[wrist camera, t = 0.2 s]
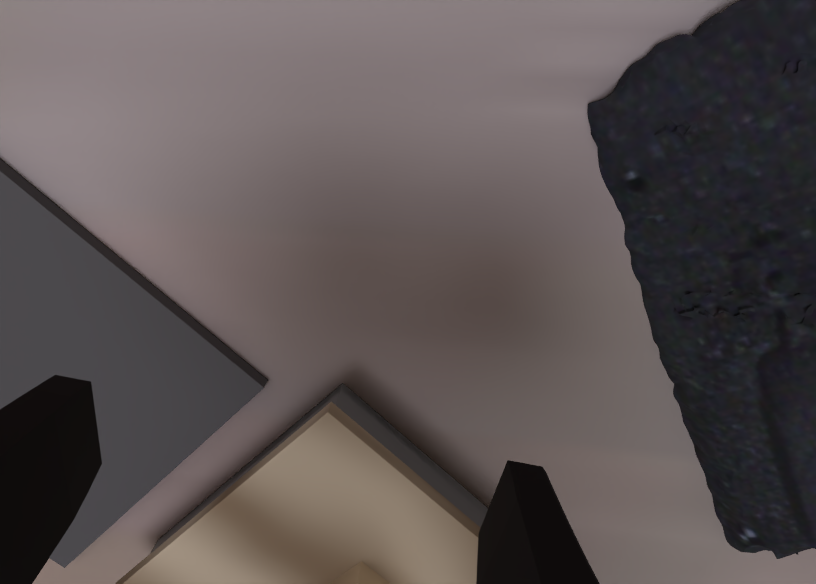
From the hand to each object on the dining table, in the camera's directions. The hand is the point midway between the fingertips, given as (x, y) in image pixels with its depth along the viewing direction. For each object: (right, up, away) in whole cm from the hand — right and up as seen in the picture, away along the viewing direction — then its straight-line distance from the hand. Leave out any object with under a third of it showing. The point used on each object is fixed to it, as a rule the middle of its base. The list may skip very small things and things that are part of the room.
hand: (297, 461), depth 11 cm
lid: (-1, -9, +13) cm, 16 cm away
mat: (-13, 0, +12) cm, 18 cm away
